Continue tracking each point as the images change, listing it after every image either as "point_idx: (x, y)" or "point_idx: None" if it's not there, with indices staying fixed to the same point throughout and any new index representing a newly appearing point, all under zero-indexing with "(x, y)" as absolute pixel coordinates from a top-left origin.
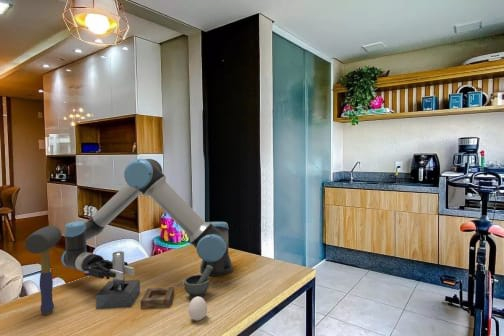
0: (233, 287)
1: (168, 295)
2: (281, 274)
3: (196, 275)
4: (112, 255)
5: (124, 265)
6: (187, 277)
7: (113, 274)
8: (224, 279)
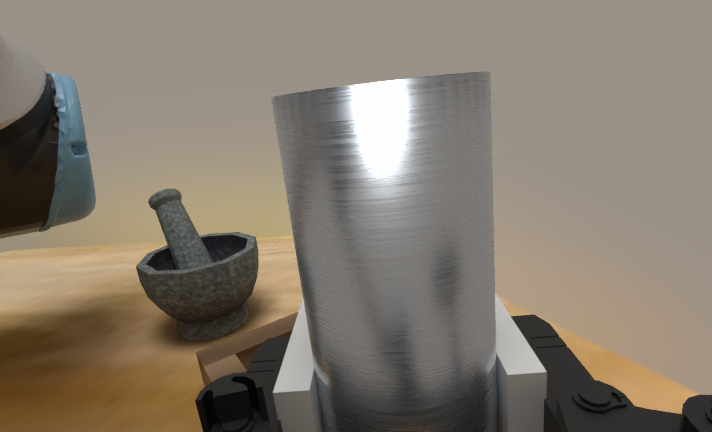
0: (118, 295)
1: (295, 319)
2: (20, 269)
3: (148, 267)
4: (486, 106)
5: (285, 361)
6: (177, 272)
7: (530, 323)
8: (19, 339)
